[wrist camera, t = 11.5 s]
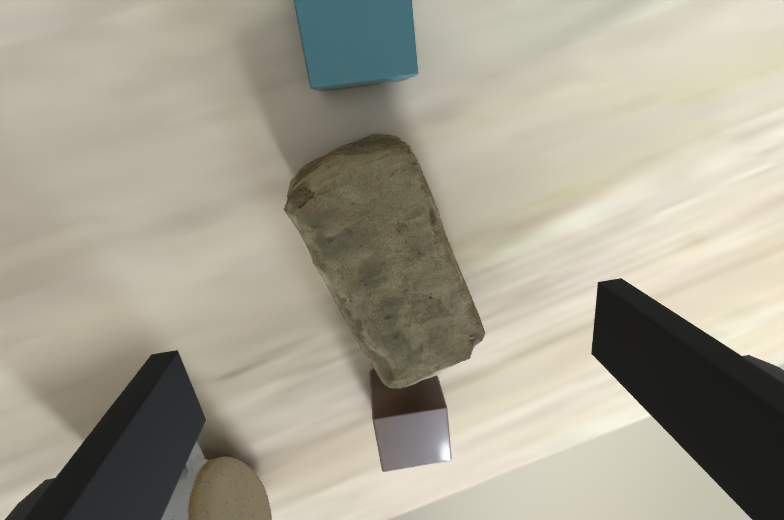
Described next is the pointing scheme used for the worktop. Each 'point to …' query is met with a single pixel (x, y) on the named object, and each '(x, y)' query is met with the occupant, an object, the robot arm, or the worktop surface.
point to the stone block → (386, 258)
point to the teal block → (357, 41)
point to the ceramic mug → (217, 491)
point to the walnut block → (410, 423)
